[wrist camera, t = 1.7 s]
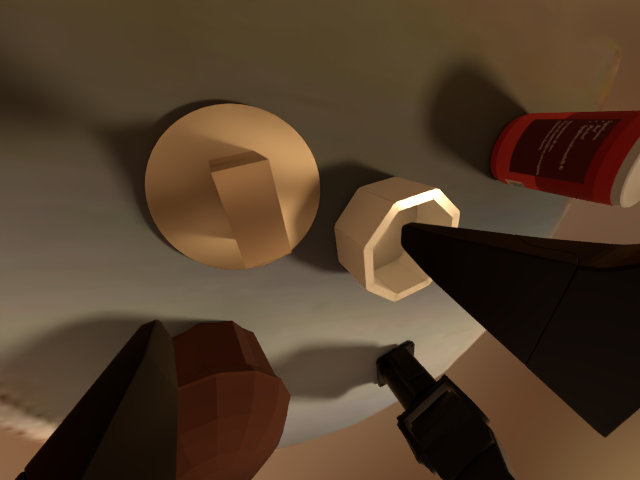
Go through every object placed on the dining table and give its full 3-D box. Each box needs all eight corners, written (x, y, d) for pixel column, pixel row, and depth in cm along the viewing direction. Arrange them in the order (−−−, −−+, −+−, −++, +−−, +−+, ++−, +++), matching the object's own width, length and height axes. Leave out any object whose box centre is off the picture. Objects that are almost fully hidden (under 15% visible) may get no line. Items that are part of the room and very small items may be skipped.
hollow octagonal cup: (415, 253, 29) (450, 274, 25) (341, 284, 26) (367, 314, 22) (420, 169, 24) (464, 179, 20) (330, 195, 21) (361, 214, 17)
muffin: (264, 294, 23) (301, 391, 15) (276, 372, 28) (308, 477, 20) (109, 337, 19) (38, 508, 10) (156, 420, 24) (132, 580, 15)
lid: (324, 237, 23) (354, 265, 19) (191, 284, 20) (189, 332, 15) (301, 91, 17) (336, 82, 13) (106, 122, 14) (62, 123, 9)
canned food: (532, 164, 32) (665, 182, 23) (486, 193, 30) (609, 225, 21) (540, 101, 27) (708, 91, 18) (488, 131, 26) (642, 137, 17)
